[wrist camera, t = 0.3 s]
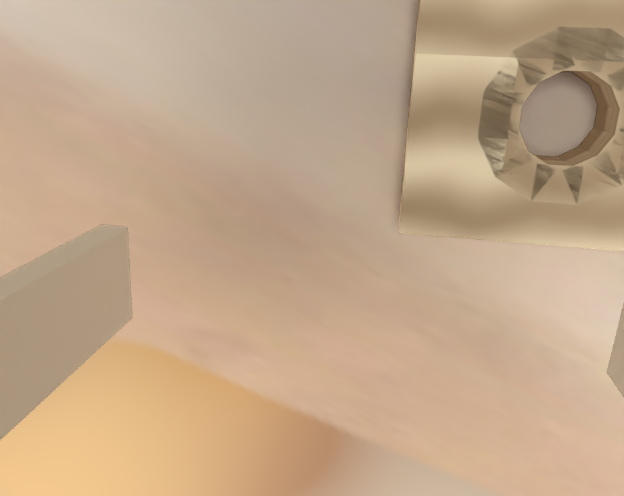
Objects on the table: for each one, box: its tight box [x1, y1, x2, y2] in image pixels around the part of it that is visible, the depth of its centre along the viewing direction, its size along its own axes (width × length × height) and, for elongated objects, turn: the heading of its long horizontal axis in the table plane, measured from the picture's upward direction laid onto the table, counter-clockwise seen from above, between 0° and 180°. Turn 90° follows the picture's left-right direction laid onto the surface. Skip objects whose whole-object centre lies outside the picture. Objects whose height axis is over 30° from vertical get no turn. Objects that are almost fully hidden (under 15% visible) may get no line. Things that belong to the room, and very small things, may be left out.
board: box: [399, 0, 624, 251], centre depth 36 cm, size 16×19×4 cm
